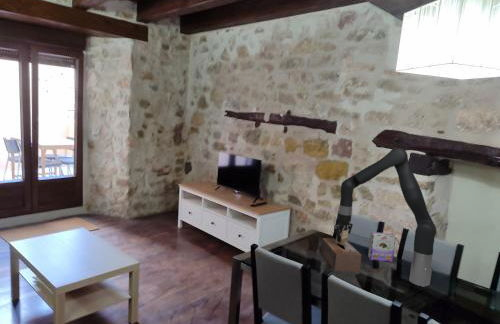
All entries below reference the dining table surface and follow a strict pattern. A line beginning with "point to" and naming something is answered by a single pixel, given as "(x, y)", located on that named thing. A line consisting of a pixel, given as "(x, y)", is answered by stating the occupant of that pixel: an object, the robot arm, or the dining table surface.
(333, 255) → the tissue box cover
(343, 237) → the oak block
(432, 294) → the dining table surface
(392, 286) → the dining table surface
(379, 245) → the candy box
